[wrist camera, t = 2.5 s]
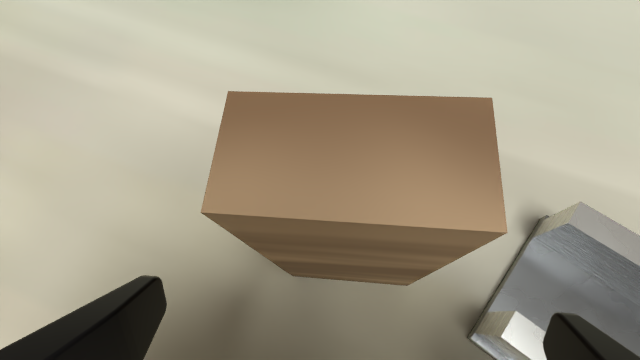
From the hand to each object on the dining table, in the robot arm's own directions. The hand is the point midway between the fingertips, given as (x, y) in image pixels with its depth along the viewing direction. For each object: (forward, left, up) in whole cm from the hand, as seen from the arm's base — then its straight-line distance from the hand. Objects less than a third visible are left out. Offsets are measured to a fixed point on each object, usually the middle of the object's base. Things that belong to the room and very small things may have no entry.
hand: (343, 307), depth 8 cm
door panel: (+3, -1, -10) cm, 11 cm away
